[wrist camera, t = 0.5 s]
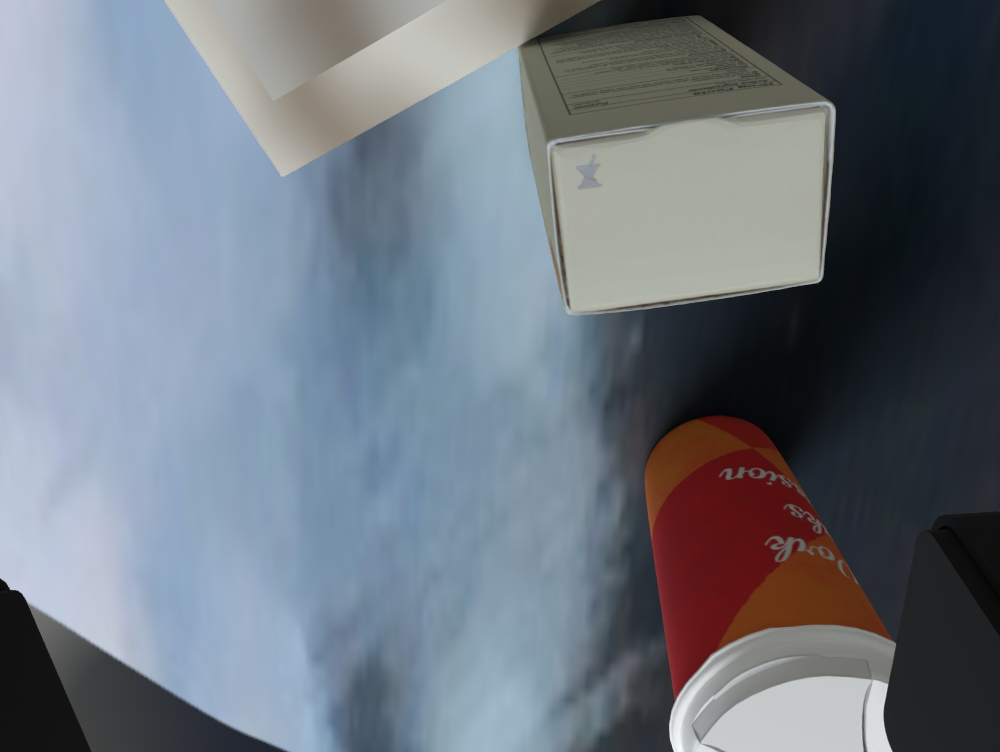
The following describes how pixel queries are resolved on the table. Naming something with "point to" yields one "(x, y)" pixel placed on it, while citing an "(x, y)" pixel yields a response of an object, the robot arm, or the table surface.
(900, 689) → the robot arm
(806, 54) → the table surface
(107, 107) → the table surface
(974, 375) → the table surface
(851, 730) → the paper cup
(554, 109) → the skincare box
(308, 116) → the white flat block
